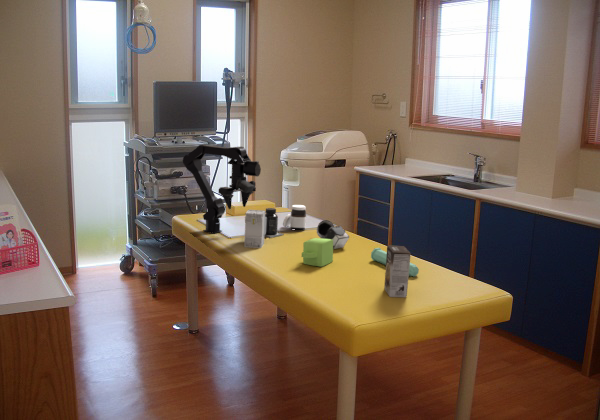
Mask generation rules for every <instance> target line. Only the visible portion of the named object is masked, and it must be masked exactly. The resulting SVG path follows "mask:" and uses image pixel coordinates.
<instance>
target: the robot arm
mask: <svg viewBox="0 0 600 420" xmlns="http://www.w3.org/2000/svg"><path fill="white" fill-rule="evenodd" d="M207 154H208V155H214V156H223V157H226V158H228V159H230V160H228V162H227V165H231V175H229V179H230V180H231V181H230V183H231V184H229V185H228V186H220V187H218V194H220V196H222V197H221V198H218V197H217V196H216V195H215V193H214V191H213V189H212V187H211V186H210V183H209V181H208V179H207V177H206V175H205V173H204V171H203V164H202V163H203V162H202V160H203V158H205V156H206V155H207ZM181 162H182V165H183V166H184V167H185V168H186V170H187V171H189V172H190V174H192V176H193V177H194V180H195V182H196V184H197V186H198V188H199V189H200V192H201V193H202V195H203V198H204V200H205V204H206V205H205V208H206V212H204V214H203V215H202V217H203V220H204V221H205V229H203V230H202V231H203V232H205V233H209V234H217V233H221V232H223V230H221V223H220V222H221V221H220V219H221V218H222V217H223V215H224V214H225V212H226V207H225V206H227V208H228V210H231V209H232V199H233V197H234V193H235V192H240V195H241V201H242V206H243V207H244V208H245V207H246V206H247V203H248V200H249V198H250V196H251V195H252V194H254V192H256V189H257V184H256V181H255V180H250V181H248V180H247V177H246V176H248V177H249V176H253V177H259V176H260V175H261V171H262V170H261V169H262V168H261V165H260V162H259V160H251V158H250V156H249V154H248V153H247V150H246V148H245V147H244V146H233V147H225V146H219V145H218V146H217V145H209V144H208V145H207V144H205V143H204V144H199V145H198V146H197V147H196V148H194V149H193V150H192V151H190V152H189V153H188V154H186V155H184V156H183V158H182V161H181ZM222 198H223V199H222ZM224 202H225V204H226V205H225V204H224Z"/></svg>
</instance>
